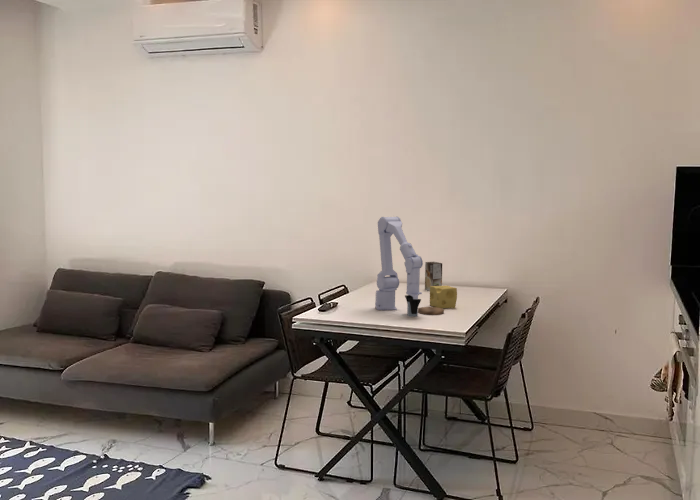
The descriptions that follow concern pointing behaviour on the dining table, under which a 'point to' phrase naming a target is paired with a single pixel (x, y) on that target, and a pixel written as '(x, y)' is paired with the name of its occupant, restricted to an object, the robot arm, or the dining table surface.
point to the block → (410, 310)
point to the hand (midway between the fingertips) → (412, 312)
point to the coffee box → (433, 274)
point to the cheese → (443, 296)
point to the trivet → (430, 310)
